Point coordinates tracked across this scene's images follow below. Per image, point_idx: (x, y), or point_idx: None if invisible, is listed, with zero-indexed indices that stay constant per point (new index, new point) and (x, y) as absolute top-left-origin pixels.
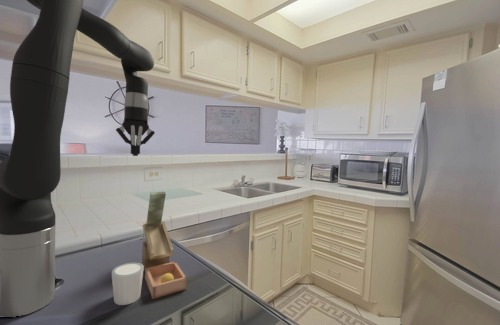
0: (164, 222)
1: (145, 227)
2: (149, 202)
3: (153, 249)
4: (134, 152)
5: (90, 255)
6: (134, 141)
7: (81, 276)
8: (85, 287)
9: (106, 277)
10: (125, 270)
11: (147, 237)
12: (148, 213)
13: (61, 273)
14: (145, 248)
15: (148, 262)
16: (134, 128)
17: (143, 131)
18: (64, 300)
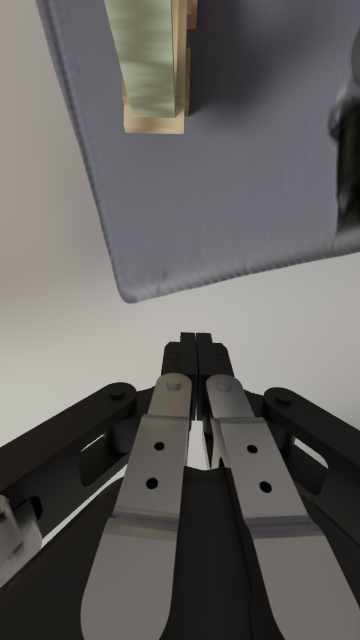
0: (122, 90)
1: (183, 78)
2: (171, 16)
3: (175, 6)
4: (205, 342)
5: (270, 230)
6: (216, 400)
7: (299, 125)
8: (301, 63)
9: (261, 90)
10: None
11: (185, 31)
12: (173, 62)
13: (326, 163)
14: (190, 48)
15: None
16: (265, 560)
17: (86, 535)
18: (340, 23)
